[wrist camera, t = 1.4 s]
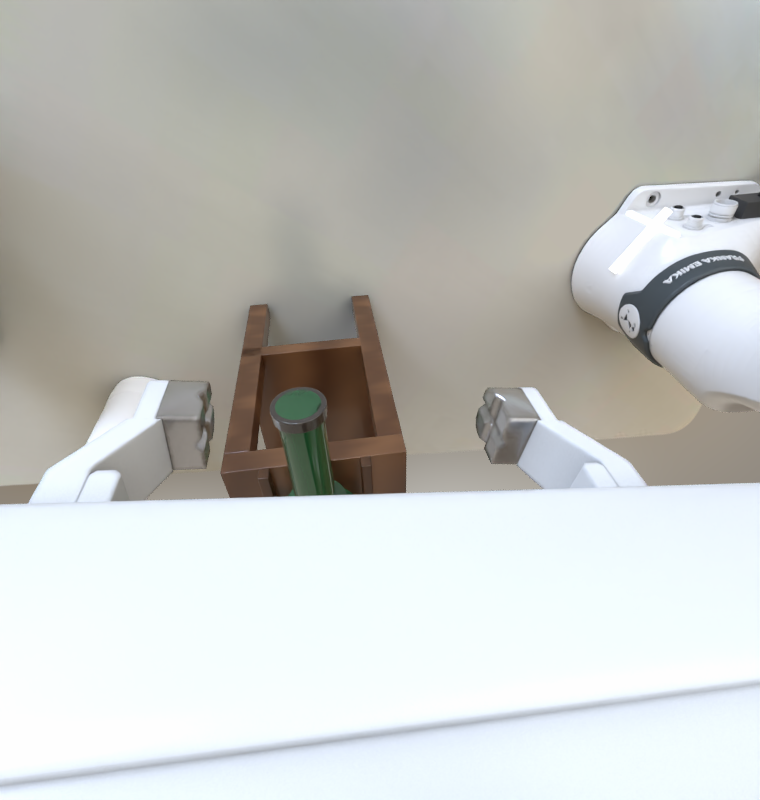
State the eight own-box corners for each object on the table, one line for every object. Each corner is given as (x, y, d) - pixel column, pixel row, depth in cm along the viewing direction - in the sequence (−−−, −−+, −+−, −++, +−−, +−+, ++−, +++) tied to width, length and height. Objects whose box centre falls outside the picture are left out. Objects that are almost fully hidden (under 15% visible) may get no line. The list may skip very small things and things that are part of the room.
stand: (368, 294, 54) (408, 461, 34) (374, 417, 67) (406, 591, 47) (250, 305, 53) (218, 484, 33) (279, 428, 66) (269, 611, 46)
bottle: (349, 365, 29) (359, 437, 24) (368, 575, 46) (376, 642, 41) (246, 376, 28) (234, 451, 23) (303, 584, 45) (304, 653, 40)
